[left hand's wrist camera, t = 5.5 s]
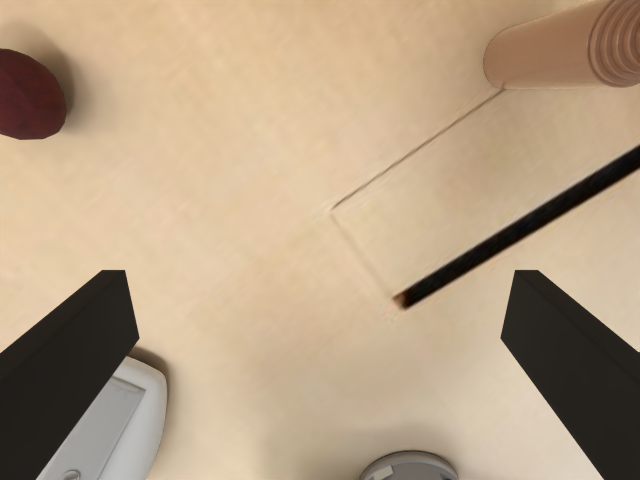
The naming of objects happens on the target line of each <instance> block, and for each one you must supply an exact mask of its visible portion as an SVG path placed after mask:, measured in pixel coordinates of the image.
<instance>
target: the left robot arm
mask: <svg viewBox="0 0 640 480" xmlns="http://www.w3.org/2000/svg"><path fill="white" fill-rule="evenodd" d="M138 340H139V333H138V329H137V324H136V319H135V315H134V310H133V305H132V301H131V296H130V291H129V287H128V282H127V277H126V273H125V270H102V271H100V272H99V273H98V274H97V275H96V276H94V277H93V278H92V279H91V280H89V281H88V282H87V283H86V284H85V285H83V286H82V287H81V288H80V289H78V290H77V291H76V292H75V293H73V294H72V295H71V296H70V297H69V298H67V299H66V300H65V301H64V302H62V303H61V304H60V305H59V306H58V307H56V308H55V309H54V310H53V311H51V312H50V313H49V314H48V315H47V316H45V317H44V318H43V319H42V320H40V321H39V322H38V323H37V324H36V325H34V326H33V327H32V328H31V329H29V330H28V331H27V332H26V333H25V334H23V335H22V336H21V337H20V338H18V339H17V340H16V341H15V342H14V343H12V344H11V345H10V346H9V347H7V348H6V349H5V350H4V351H3V352H1V353H0V480H36V479H37V478H38V476H39V475H40V473H41V472H42V471H43V469H44V468H45V467H46V465H47V464H48V463H49V461H50V460H51V458H52V457H53V456H54V454H55V453H56V452H57V450H58V449H59V448H60V446H61V445H62V443H63V442H64V441H65V439H66V438H67V437H68V435H69V434H70V433H71V431H72V430H73V428H74V427H75V426H76V424H77V423H78V422H79V420H80V419H81V418H82V416H83V415H84V413H85V412H86V411H87V409H88V408H89V407H90V405H91V404H92V402H93V401H94V400H95V398H96V397H97V396H98V394H99V393H100V392H101V390H102V389H103V387H104V386H105V385H106V383H107V382H108V381H109V379H110V378H111V377H112V375H113V374H114V372H115V371H116V370H117V368H118V367H119V366H120V364H121V363H122V362H123V360H124V359H125V357H126V356H127V355H128V353H129V352H130V351H131V349H132V348H133V347H134V345H135V344H136V342H137V341H138ZM501 340H502V341H503V342H504V344H505V345H506V347H507V348H508V349H509V351H510V352H511V353H512V355H513V356H514V357H515V359H516V360H517V362H518V363H519V364H520V366H521V367H522V368H523V370H524V371H525V372H526V374H527V375H528V377H529V378H530V379H531V381H532V382H533V383H534V385H535V386H536V387H537V389H538V390H539V392H540V393H541V394H542V396H543V397H544V398H545V400H546V401H547V403H548V404H549V405H550V407H551V408H552V409H553V411H554V412H555V413H556V415H557V416H558V418H559V419H560V420H561V422H562V423H563V424H564V426H565V427H566V428H567V430H568V431H569V433H570V434H571V435H572V437H573V438H574V439H575V441H576V442H577V443H578V445H579V446H580V448H581V449H582V450H583V452H584V453H585V454H586V456H587V457H588V458H589V460H590V461H591V463H592V464H593V465H594V467H595V468H596V469H597V471H598V472H599V473H600V475H601V476H602V478H603V479H604V480H640V352H637V351H636V350H635V349H634V348H633V347H631V346H630V345H629V344H628V343H626V342H625V341H624V340H623V339H622V338H620V337H619V336H618V335H617V334H615V333H614V332H613V331H612V330H611V329H609V328H608V327H607V326H606V325H604V324H603V323H602V322H601V321H600V320H598V319H597V318H596V317H595V316H593V315H592V314H591V313H590V312H589V311H587V310H586V309H585V308H584V307H582V306H581V305H580V304H579V303H578V302H576V301H575V300H574V299H573V298H571V297H570V296H569V295H568V294H567V293H565V292H564V291H563V290H562V289H560V288H559V287H558V286H557V285H555V284H554V283H553V282H552V281H551V280H549V279H548V278H547V277H546V276H544V275H543V274H542V273H541V272H540V271H538V270H515V273H514V277H513V282H512V287H511V291H510V296H509V301H508V305H507V310H506V315H505V319H504V324H503V329H502V333H501ZM359 480H458V478H457V475H456V472H455V471H454V469H453V468H452V466H451V465H450V464H449V463H447V462H446V461H445V460H443V459H442V458H440V457H438V456H435V455H432V454H429V453H424V452H415V451H409V452H400V453H395V454H391V455H388V456H385V457H383V458H381V459H379V460H377V461H375V462H374V463H372V464H371V465H370V466H369V467H368V468H367V469H366V470H365V471H364V472H363V473H362V475H361V477H360V479H359Z"/></svg>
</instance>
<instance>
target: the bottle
mask: <svg viewBox="0 0 640 480" xmlns="http://www.w3.org/2000/svg"><path fill="white" fill-rule="evenodd" d="M483 68H484V72H485V75H486V77H487V79H488V80H489V82H490V83H491V84H492V85H494V86H495V87H497V88H500V89H571V88H624V87H630V86H633V85H636V84H639V83H640V0H590V1H587V2H584V3H581V4H579V5H576V6H573V7H570V8H567V9H564V10H561V11H558V12H555V13H552V14H549V15H546V16H543V17H540V18H537V19H534V20H531V21H528V22H525V23H522V24H519V25H517V26H514V27H511V28H508V29H505V30H503V31H502V32H500V33H499V34H498V35H496V36H495V37H494V38H493V39H492V41H491V42H490V44H489V45H488V47H487V49H486V52H485V55H484V61H483Z"/></svg>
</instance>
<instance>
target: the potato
mask: <svg viewBox="0 0 640 480" xmlns="http://www.w3.org/2000/svg"><path fill="white" fill-rule="evenodd" d="M65 116H66V106H65V100H64V95H63V92H62V90H61V88H60V86H59V84H58V82H57V80H56V78H55V76H54V75H53V74H52V73H51V72H50V71H49V70H48V69H47V68H46V67H45V66H43V65H42V64H40V63H39V62H37V61H35V60H34V59H32V58H31V57H29V56H27V55H25V54H22V53H19V52H17V51H13V50H9V49H0V134H2V135H6V136H9V137H12V138H16V139H19V140H30V139H45V138H47V137H49V136H51V135H54V134H56V133H58V132H59V131H60V129H61V128H62V126H63V124H64V123H65Z"/></svg>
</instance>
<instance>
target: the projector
mask: <svg viewBox="0 0 640 480" xmlns="http://www.w3.org/2000/svg"><path fill="white" fill-rule="evenodd" d="M166 407H167V384H166V379H165V376H164V375H163V374H162V373H161V372H160V371H158V370H157V369H154V368H152V367H150V366H149V365H147V364H145V363H142V362H140V361H138V360H135V359H133V358H130V357H127V356H126V357H125V359H124V360H123V362H122V363H121V364H120V366H119V367H118V368H117V370H116V371H115V372H114V374H113V375H112V377H111V378H110V379H109V381H108V382H107V383H106V385H105V386H104V387H103V389H102V390H101V392H100V393H99V394H98V396H97V397H96V398H95V400H94V401H93V402H92V404H91V405H90V407H89V408H88V409H87V411H86V412H85V413H84V415H83V416H82V418H81V419H80V420H79V422H78V423H77V424H76V426H75V427H74V428H73V430H72V431H71V433H70V434H69V435H68V437H67V438H66V439H65V441H64V442H63V443H62V445H61V446H60V448H59V449H58V450H57V452H56V453H55V454H54V456H53V457H52V458H51V460H50V461H49V463H48V464H47V465H46V467H45V468H44V469H43V471H42V472H41V473H40V475H39V476H38V478H37V479H36V480H146V478H147V476H148V474H149V471H150V469H151V467H152V464H153V462H154V459H155V457H156V454H157V451H158V448H159V445H160V441H161V438H162V433H163V429H164V423H165V416H166Z"/></svg>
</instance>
